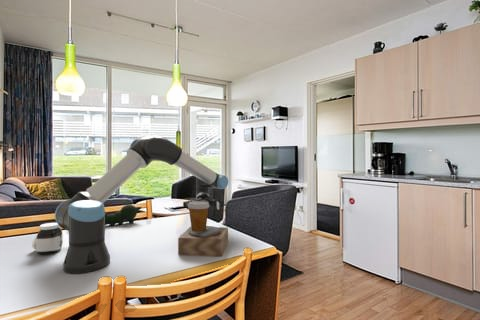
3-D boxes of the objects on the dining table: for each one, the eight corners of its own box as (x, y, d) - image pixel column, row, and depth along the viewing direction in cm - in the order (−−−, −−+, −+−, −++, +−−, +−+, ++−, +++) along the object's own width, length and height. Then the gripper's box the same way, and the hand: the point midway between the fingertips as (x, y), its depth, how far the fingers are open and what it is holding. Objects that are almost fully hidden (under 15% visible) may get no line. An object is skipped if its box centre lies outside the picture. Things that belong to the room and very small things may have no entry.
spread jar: (53, 255, 111) (53, 227, 111) (22, 257, 109) (22, 228, 109) (67, 246, 123) (67, 220, 122) (39, 247, 121) (39, 221, 121)
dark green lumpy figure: (98, 231, 152) (144, 221, 165) (94, 198, 151) (141, 191, 164) (97, 227, 160) (141, 218, 173) (93, 196, 159) (138, 189, 172)
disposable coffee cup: (214, 229, 122) (214, 202, 121) (198, 233, 114) (198, 205, 114) (199, 225, 127) (199, 200, 127) (183, 230, 120) (183, 202, 120)
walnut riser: (178, 254, 112) (178, 235, 112) (190, 241, 130) (190, 224, 130) (221, 256, 110) (221, 236, 110) (227, 242, 128) (227, 225, 128)
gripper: (225, 206, 152) (230, 214, 131) (180, 207, 148) (177, 215, 127) (225, 192, 152) (230, 198, 131) (180, 193, 148) (177, 199, 127)
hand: (204, 207), depth 129 cm, fingers open, 13 cm apart
